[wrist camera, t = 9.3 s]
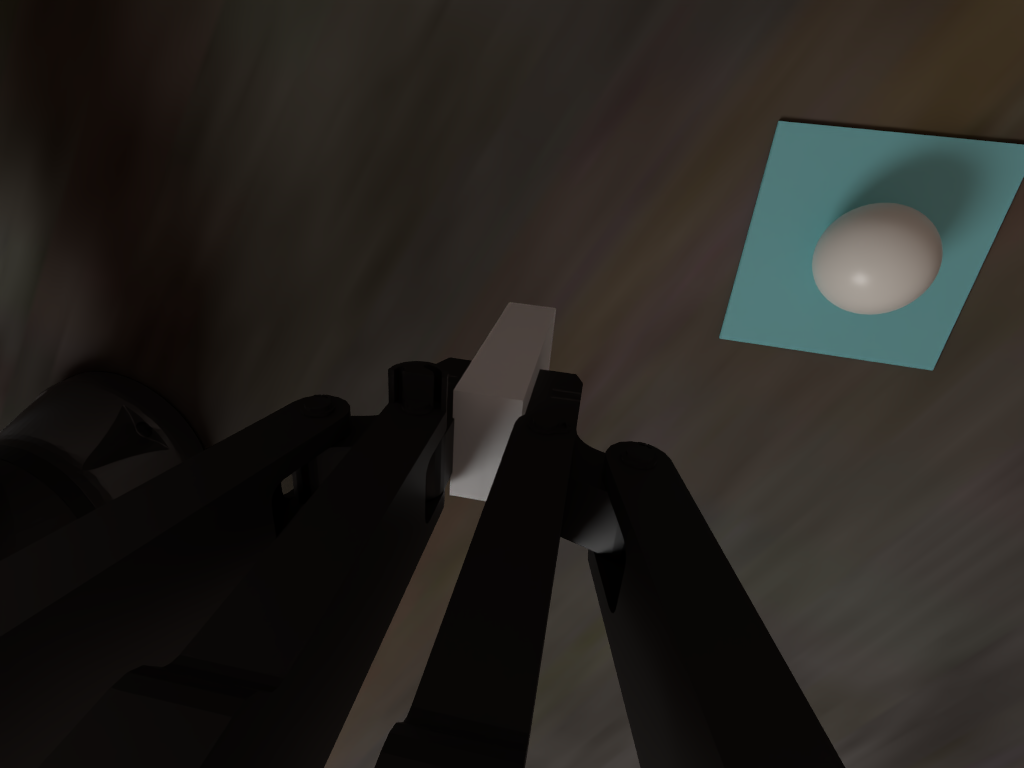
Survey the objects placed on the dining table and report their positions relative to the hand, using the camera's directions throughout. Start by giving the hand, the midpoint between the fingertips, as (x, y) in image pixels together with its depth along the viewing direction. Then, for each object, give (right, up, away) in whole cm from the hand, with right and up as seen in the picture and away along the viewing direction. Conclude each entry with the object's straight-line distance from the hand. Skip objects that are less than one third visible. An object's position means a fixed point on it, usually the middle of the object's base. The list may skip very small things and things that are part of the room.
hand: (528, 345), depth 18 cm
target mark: (+19, +6, +13) cm, 23 cm away
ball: (+18, +5, +10) cm, 21 cm away
